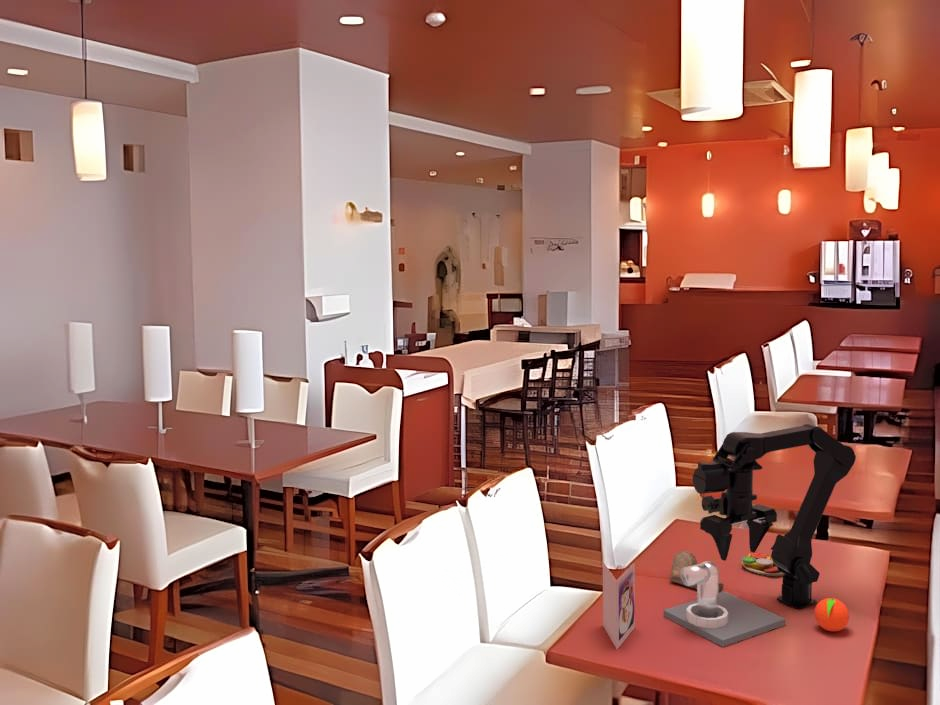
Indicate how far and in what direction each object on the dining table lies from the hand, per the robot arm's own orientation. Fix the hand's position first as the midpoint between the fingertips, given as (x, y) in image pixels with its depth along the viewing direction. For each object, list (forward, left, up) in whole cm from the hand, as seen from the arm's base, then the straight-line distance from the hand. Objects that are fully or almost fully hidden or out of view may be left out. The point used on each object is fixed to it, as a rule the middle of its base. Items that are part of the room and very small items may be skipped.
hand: (738, 556), depth 197 cm
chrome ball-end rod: (+13, +2, -11) cm, 18 cm away
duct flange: (+6, +2, -13) cm, 15 cm away
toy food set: (-26, -14, -14) cm, 33 cm away
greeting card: (+32, -6, -13) cm, 35 cm away
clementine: (-9, +18, -13) cm, 24 cm away
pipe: (-4, -17, -14) cm, 22 cm away
